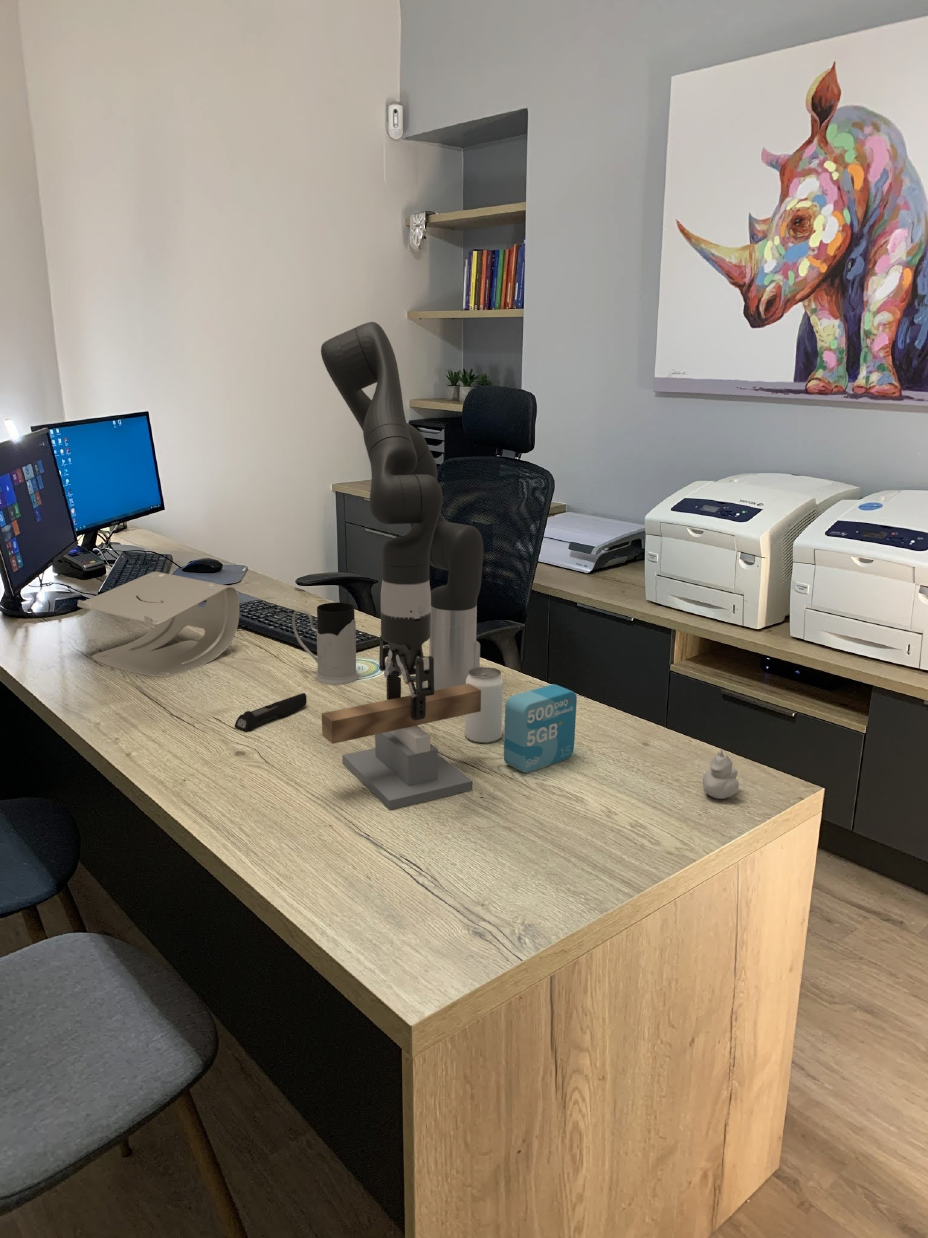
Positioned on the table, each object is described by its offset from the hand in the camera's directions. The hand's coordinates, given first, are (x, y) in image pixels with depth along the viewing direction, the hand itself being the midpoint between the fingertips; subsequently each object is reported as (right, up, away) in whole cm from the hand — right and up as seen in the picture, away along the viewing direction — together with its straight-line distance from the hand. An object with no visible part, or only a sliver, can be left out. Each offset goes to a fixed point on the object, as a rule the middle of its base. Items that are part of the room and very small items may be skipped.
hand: (405, 709), depth 142 cm
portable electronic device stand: (-57, +6, +59) cm, 82 cm away
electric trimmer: (-26, -4, +26) cm, 37 cm away
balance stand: (0, -11, +3) cm, 11 cm away
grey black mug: (-20, +2, +48) cm, 52 cm away
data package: (+21, -10, +10) cm, 25 cm away
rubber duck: (+48, -13, -1) cm, 50 cm away
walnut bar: (0, -2, +1) cm, 2 cm away
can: (+12, -7, +19) cm, 24 cm away
